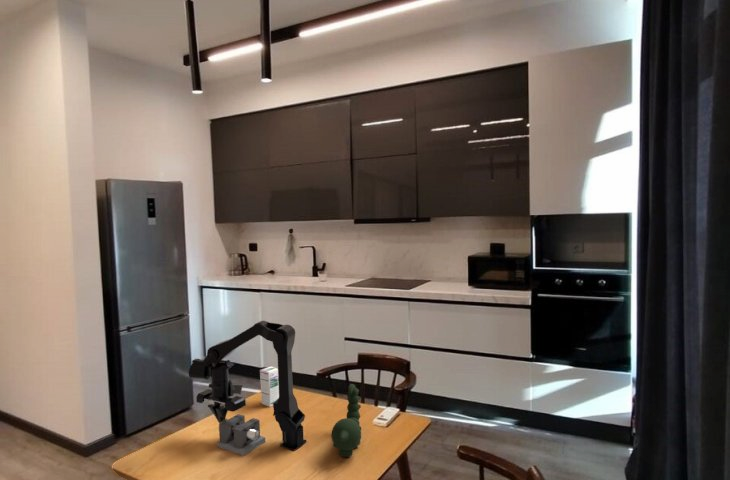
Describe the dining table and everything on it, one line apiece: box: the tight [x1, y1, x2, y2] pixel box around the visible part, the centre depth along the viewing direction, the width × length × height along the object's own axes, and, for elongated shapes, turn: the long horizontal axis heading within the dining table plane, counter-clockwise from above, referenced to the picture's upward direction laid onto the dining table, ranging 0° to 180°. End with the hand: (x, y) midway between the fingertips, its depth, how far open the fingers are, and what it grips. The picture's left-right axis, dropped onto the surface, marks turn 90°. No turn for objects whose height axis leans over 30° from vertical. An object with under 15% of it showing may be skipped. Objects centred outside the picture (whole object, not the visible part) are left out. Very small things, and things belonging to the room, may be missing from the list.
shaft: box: [221, 417, 259, 441], centre depth 144 cm, size 15×5×5 cm, turn 60°
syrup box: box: [259, 366, 279, 408], centre depth 177 cm, size 6×6×14 cm
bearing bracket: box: [217, 413, 266, 457], centre depth 144 cm, size 12×10×8 cm
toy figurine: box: [331, 383, 362, 458], centre depth 141 cm, size 9×19×25 cm
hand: (221, 424), depth 148 cm, fingers closed
